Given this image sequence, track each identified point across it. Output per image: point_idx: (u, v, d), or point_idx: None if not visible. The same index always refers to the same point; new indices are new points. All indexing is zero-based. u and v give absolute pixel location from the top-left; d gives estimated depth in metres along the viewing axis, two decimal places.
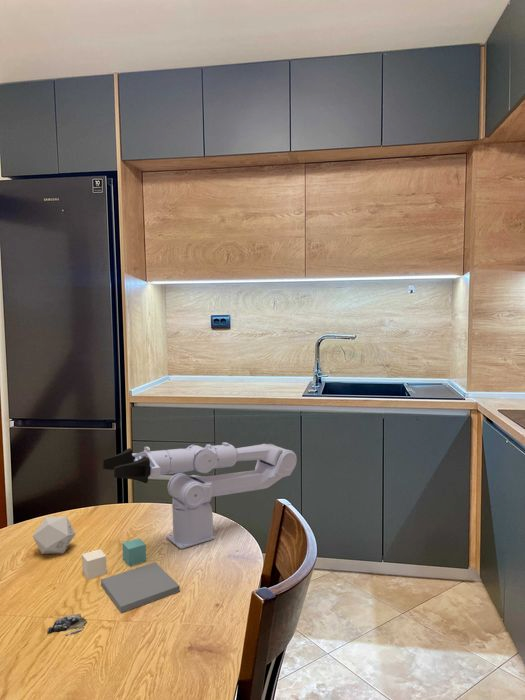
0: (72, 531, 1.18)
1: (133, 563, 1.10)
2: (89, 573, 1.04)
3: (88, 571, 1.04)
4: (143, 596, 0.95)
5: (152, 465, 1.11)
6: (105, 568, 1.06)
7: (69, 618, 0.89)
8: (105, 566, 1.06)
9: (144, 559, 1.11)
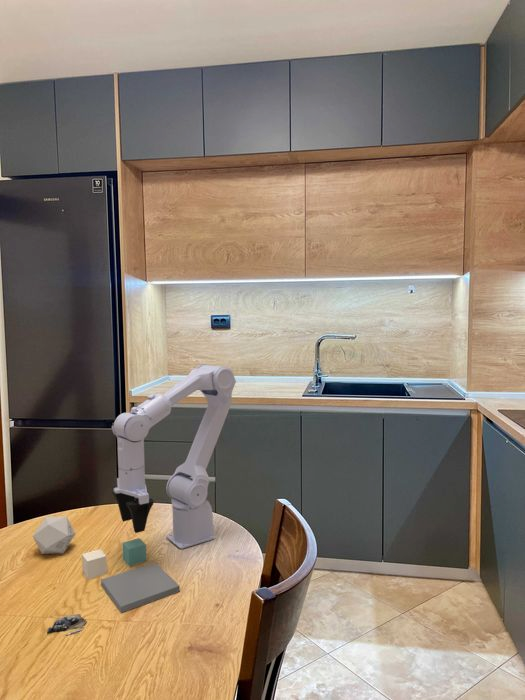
0: (72, 531, 1.18)
1: (133, 563, 1.10)
2: (89, 573, 1.04)
3: (88, 571, 1.04)
4: (143, 596, 0.95)
5: None
6: (105, 568, 1.06)
7: (69, 618, 0.89)
8: (105, 566, 1.06)
9: (144, 559, 1.11)
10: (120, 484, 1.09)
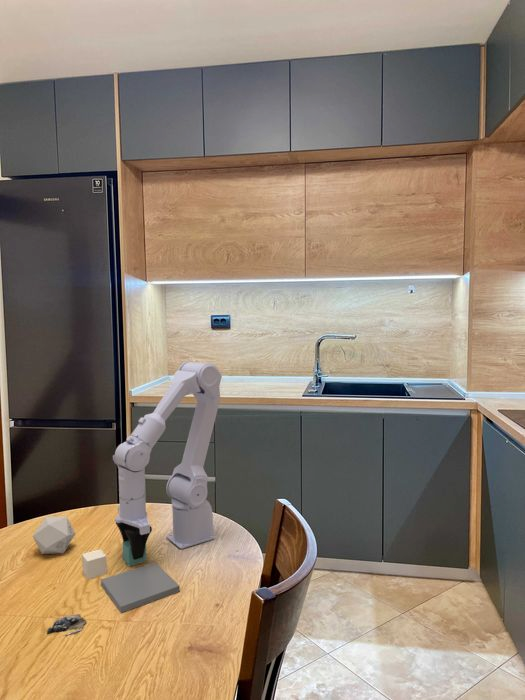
0: (72, 531, 1.18)
1: (133, 563, 1.10)
2: (89, 573, 1.04)
3: (88, 571, 1.04)
4: (143, 596, 0.95)
5: None
6: (105, 568, 1.06)
7: (69, 618, 0.89)
8: (105, 566, 1.06)
9: (144, 559, 1.11)
10: (121, 513, 1.09)
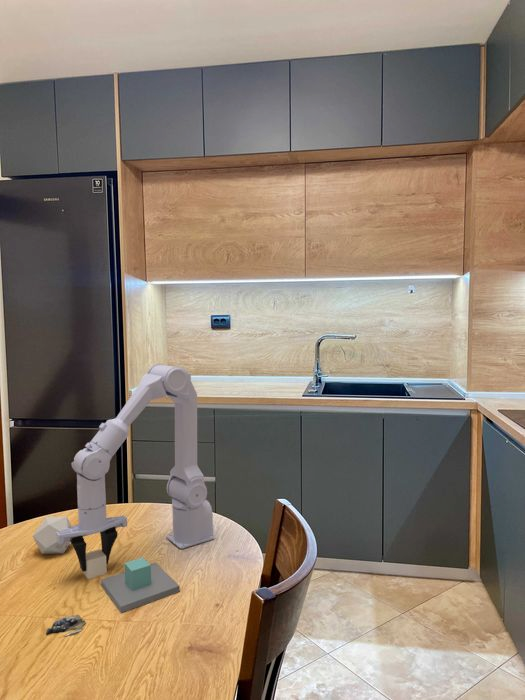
0: None
1: (136, 586, 0.98)
2: (89, 573, 1.04)
3: (88, 571, 1.04)
4: (143, 596, 0.95)
5: None
6: (105, 568, 1.06)
7: (68, 619, 0.89)
8: (105, 566, 1.06)
9: (149, 581, 0.99)
10: None
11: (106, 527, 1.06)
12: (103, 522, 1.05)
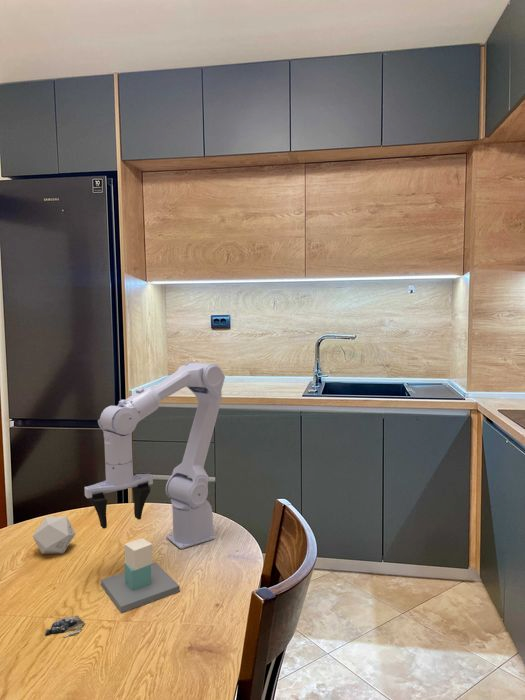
0: (72, 531, 1.18)
1: (136, 586, 0.98)
2: (136, 563, 0.97)
3: (135, 561, 0.97)
4: (143, 596, 0.95)
5: None
6: (151, 557, 1.00)
7: (67, 620, 0.88)
8: (151, 555, 1.00)
9: (149, 581, 0.99)
10: None
11: (133, 483, 1.06)
12: (130, 478, 1.06)
